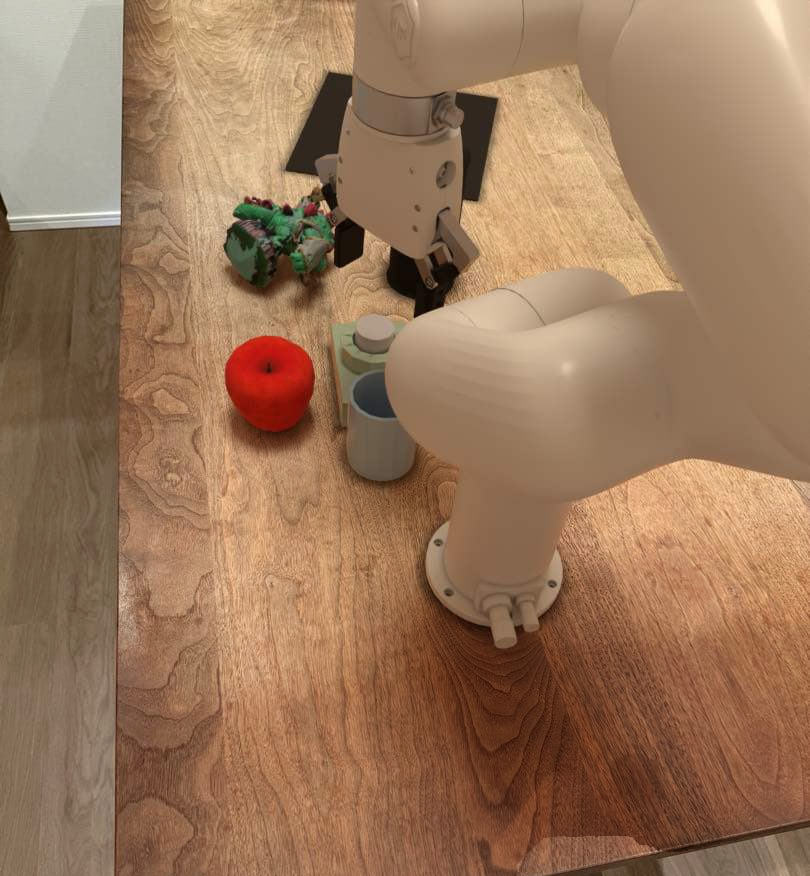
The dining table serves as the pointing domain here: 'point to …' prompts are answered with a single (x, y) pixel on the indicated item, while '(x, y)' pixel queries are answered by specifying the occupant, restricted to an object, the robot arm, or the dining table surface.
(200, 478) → the dining table surface
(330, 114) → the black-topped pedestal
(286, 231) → the figurine
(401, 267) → the aerosol can
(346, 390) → the push button box
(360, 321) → the round grey push button
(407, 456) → the cup
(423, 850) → the dining table surface
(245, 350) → the apple
